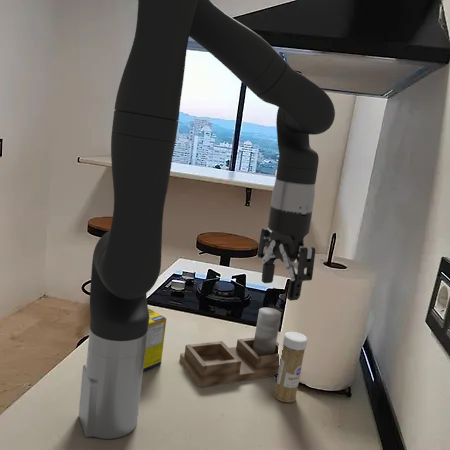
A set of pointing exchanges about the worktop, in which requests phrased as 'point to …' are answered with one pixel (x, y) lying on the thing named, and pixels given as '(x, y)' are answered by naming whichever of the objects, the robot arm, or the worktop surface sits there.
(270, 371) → the rack
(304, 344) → the sprinkles bottle
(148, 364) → the supplement box
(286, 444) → the worktop surface
